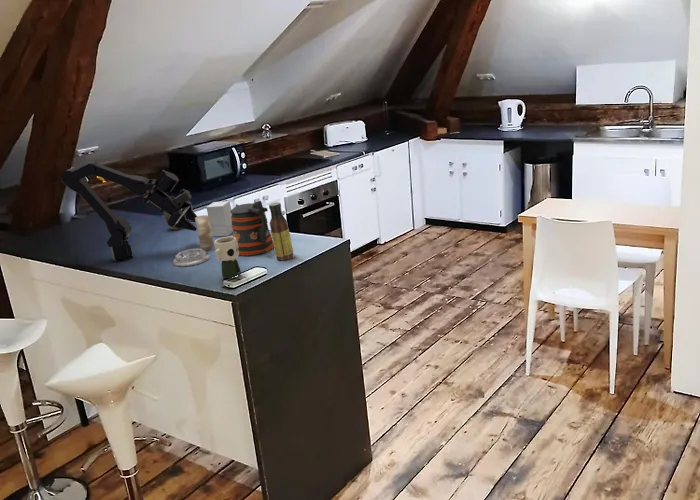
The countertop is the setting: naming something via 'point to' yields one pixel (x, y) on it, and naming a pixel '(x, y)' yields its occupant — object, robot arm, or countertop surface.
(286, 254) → the sauce bottle
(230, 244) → the character mug
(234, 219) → the beer stein
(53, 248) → the countertop surface
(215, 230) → the supplement box
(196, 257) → the socket ring
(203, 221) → the knob post
